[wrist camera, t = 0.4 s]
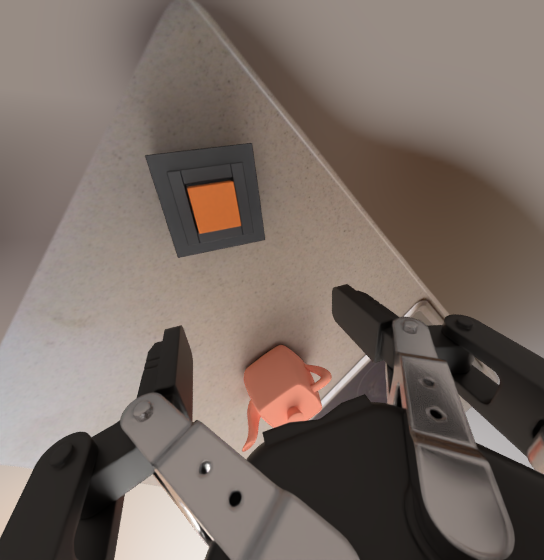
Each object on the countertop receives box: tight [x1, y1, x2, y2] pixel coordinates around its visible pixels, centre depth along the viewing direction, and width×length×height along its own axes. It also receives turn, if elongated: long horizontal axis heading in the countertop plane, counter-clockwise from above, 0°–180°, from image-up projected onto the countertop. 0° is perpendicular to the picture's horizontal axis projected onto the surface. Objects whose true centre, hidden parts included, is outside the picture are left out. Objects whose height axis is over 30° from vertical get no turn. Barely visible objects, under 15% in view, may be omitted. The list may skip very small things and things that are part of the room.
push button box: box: [145, 143, 265, 258], centre depth 26 cm, size 10×10×7 cm
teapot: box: [242, 345, 332, 452], centre depth 40 cm, size 12×18×10 cm, turn 122°
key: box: [187, 181, 241, 234], centre depth 22 cm, size 4×4×2 cm
